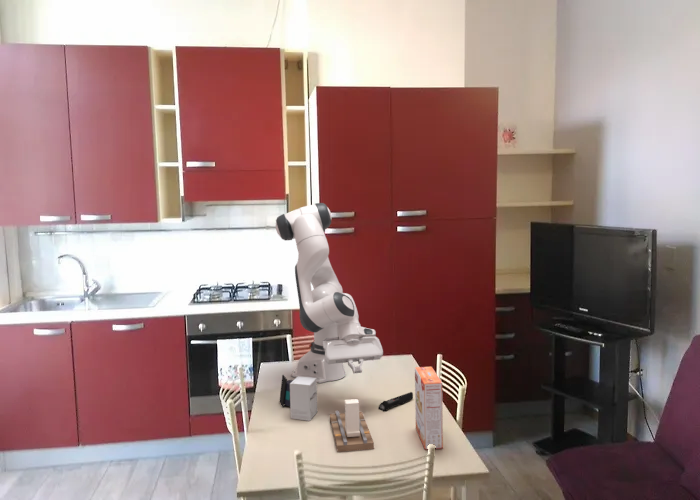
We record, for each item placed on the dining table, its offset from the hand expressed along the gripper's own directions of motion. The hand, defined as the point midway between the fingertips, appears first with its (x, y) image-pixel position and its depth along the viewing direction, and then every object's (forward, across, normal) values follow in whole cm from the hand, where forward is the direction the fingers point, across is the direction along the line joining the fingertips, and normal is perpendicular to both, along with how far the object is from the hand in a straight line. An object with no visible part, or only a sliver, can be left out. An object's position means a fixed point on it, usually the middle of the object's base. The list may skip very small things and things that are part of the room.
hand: (357, 372), depth 179 cm
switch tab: (+21, -6, -2) cm, 22 cm away
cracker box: (+26, +17, -5) cm, 31 cm away
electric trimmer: (+8, +16, +15) cm, 23 cm away
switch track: (+19, -6, +3) cm, 20 cm away
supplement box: (+7, -18, +16) cm, 25 cm away
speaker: (0, -21, +23) cm, 31 cm away
